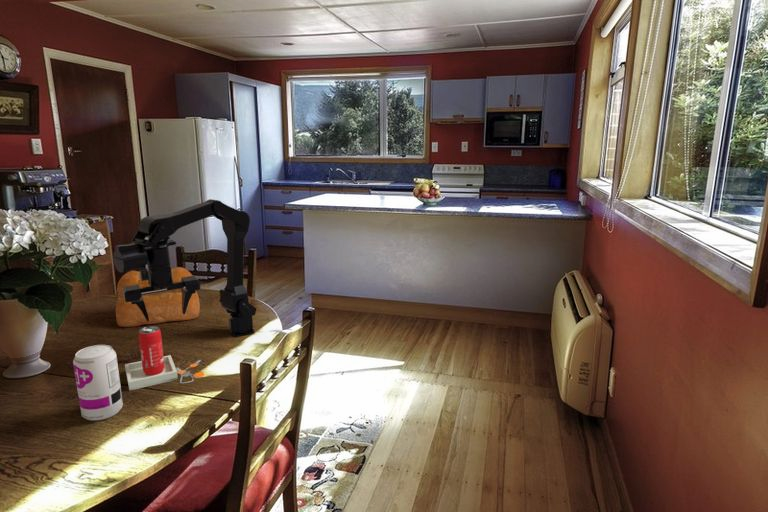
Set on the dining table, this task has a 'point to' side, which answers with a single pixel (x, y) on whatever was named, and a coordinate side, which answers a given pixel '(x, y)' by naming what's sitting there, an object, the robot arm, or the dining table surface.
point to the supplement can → (98, 382)
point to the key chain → (189, 372)
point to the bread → (155, 302)
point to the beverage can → (151, 350)
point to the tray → (141, 380)
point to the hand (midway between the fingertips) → (166, 317)
